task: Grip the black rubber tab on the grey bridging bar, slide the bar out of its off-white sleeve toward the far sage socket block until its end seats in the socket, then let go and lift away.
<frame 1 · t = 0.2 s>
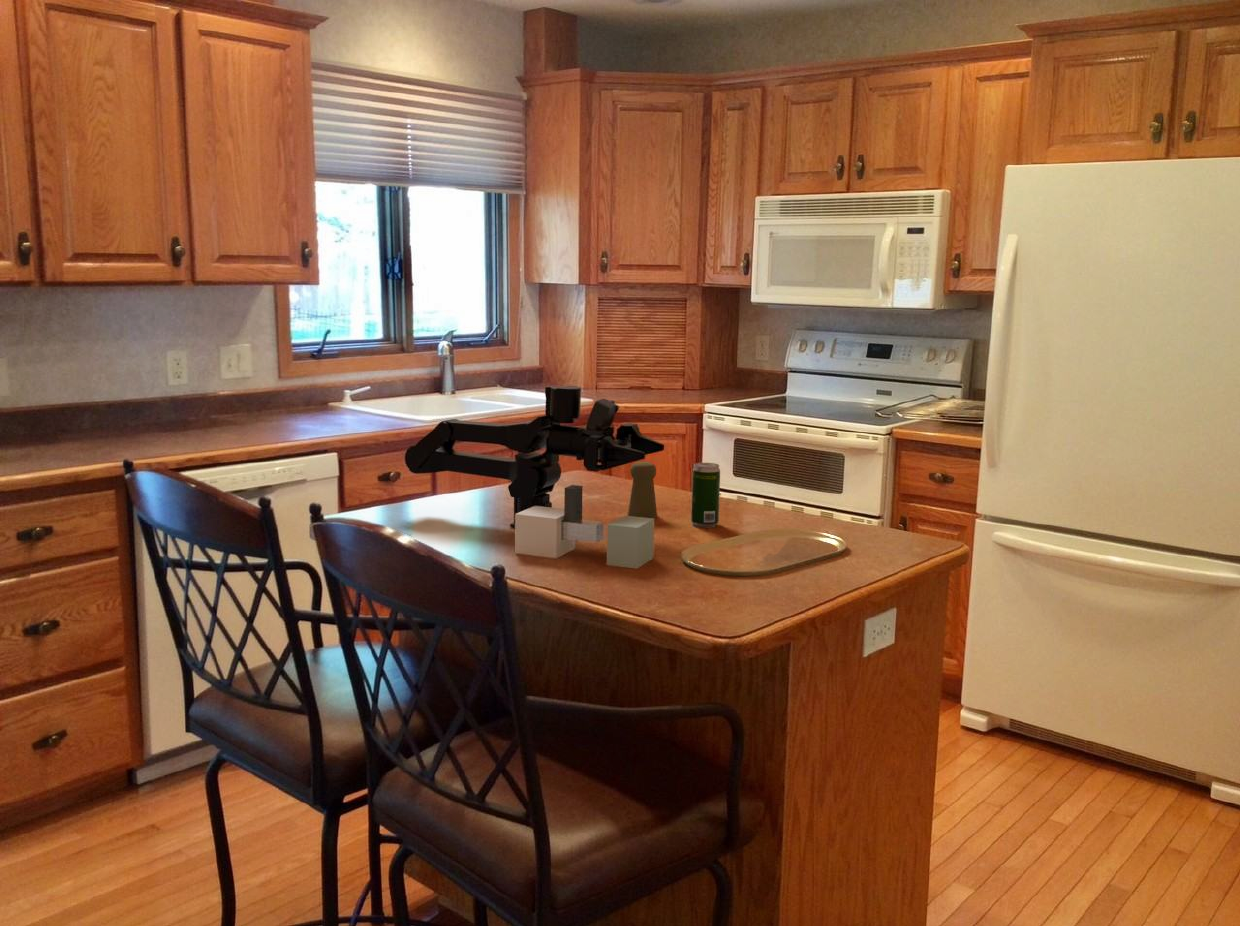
hand: (654, 451, 197), 17 cm above the table, tool horizontal, fingers open, 9 cm apart
sleeve: (545, 550, 191), on the table
beer can: (704, 525, 213), on the table
socket block: (630, 561, 185), on the table
grey bridging bar: (560, 510, 189), point 8 cm above the table, slide at 0.0 cm
serving platter: (765, 558, 191), on the table
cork: (642, 516, 220), on the table
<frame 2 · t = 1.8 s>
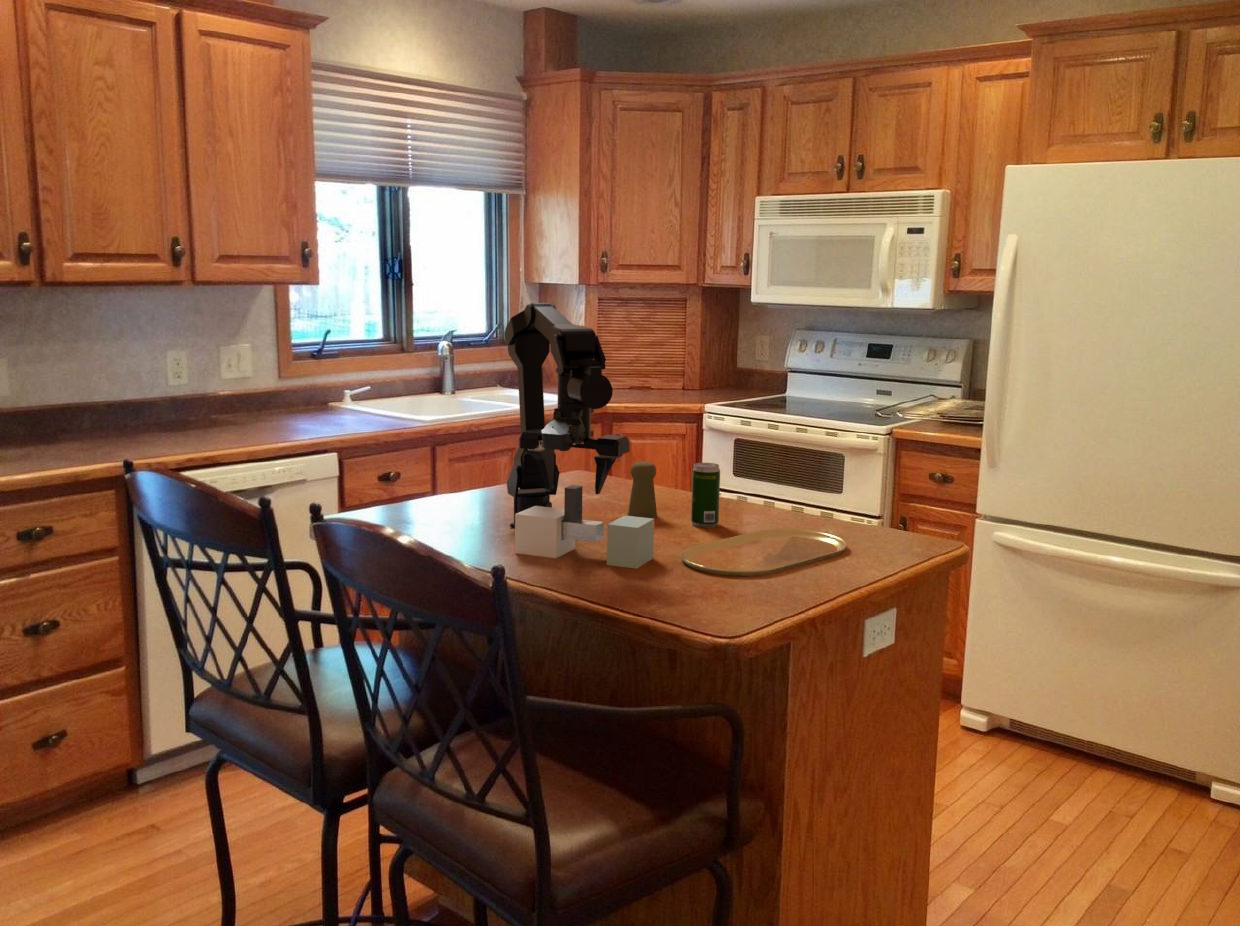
hand: (573, 491, 187), 11 cm above the table, tool pointing down, fingers open, 9 cm apart
nothing on the table moved.
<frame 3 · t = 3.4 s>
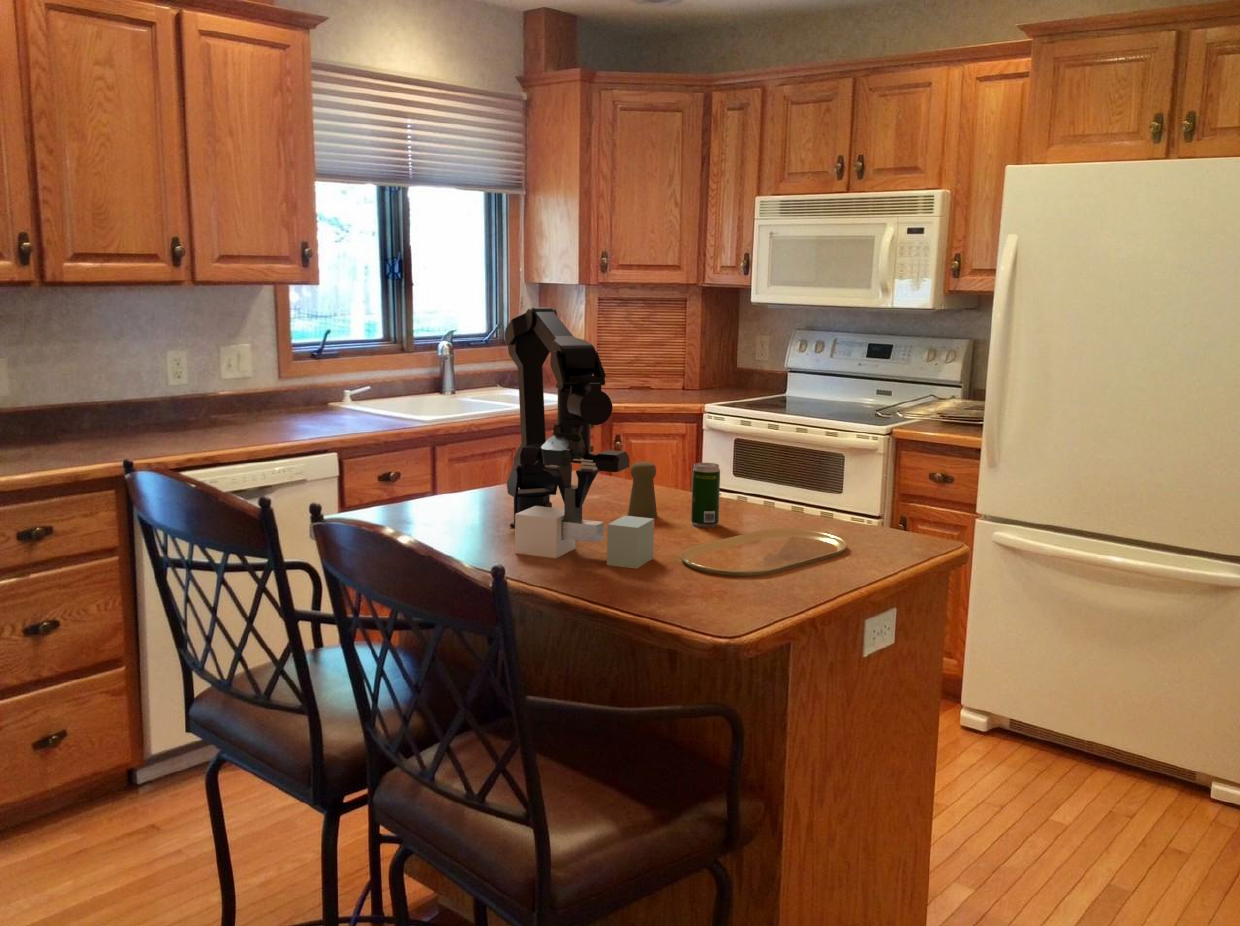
hand: (573, 506, 188), 9 cm above the table, tool pointing down, fingers closed on grey bridging bar, 2 cm apart
grey bridging bar: (560, 510, 189), point 8 cm above the table, slide at 0.0 cm, touching gripper
everything else where it was.
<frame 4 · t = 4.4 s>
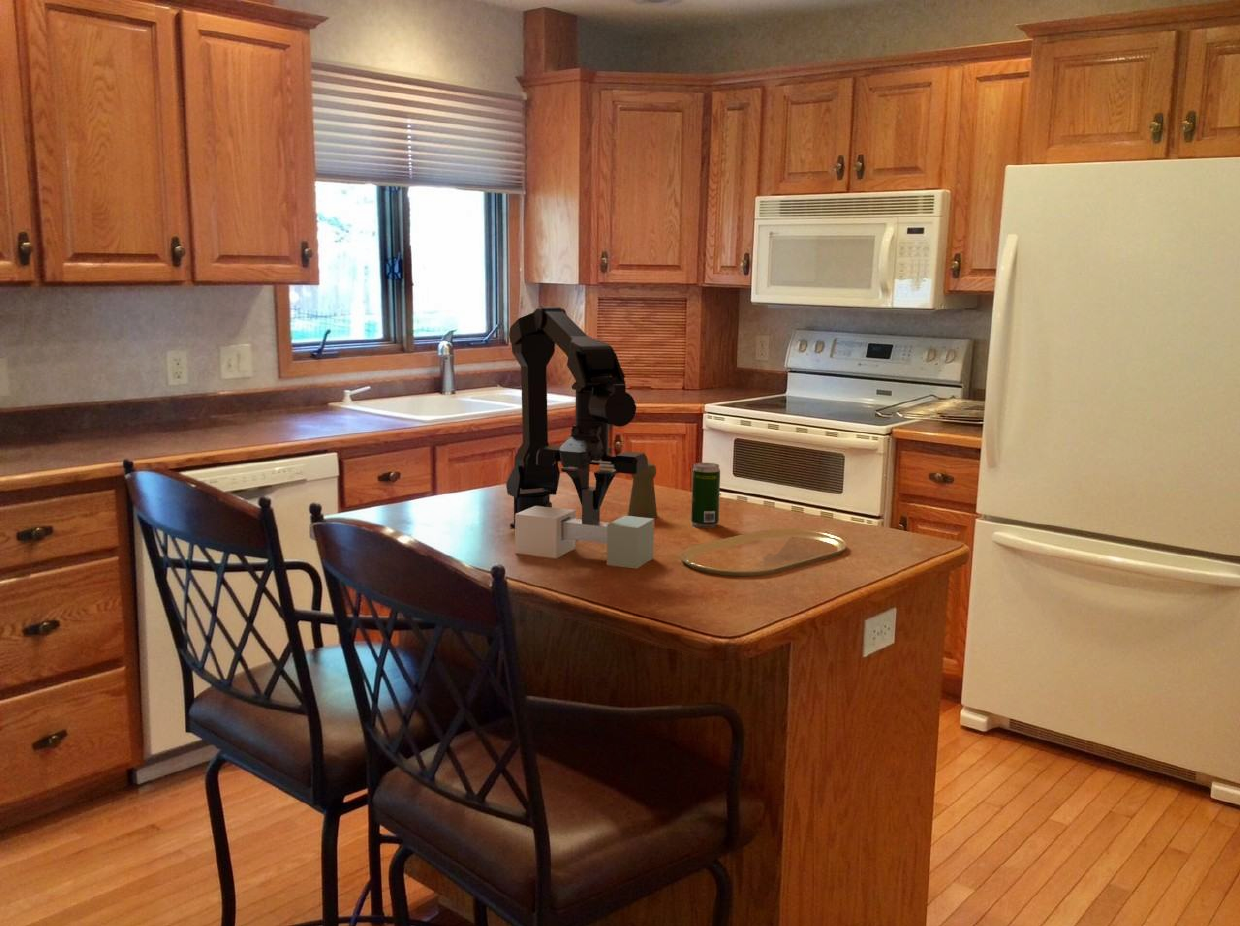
hand: (591, 508, 186), 9 cm above the table, tool pointing down, fingers closed on grey bridging bar, 2 cm apart
grey bridging bar: (578, 512, 187), point 8 cm above the table, slide at 3.4 cm, touching gripper
everything else where it was.
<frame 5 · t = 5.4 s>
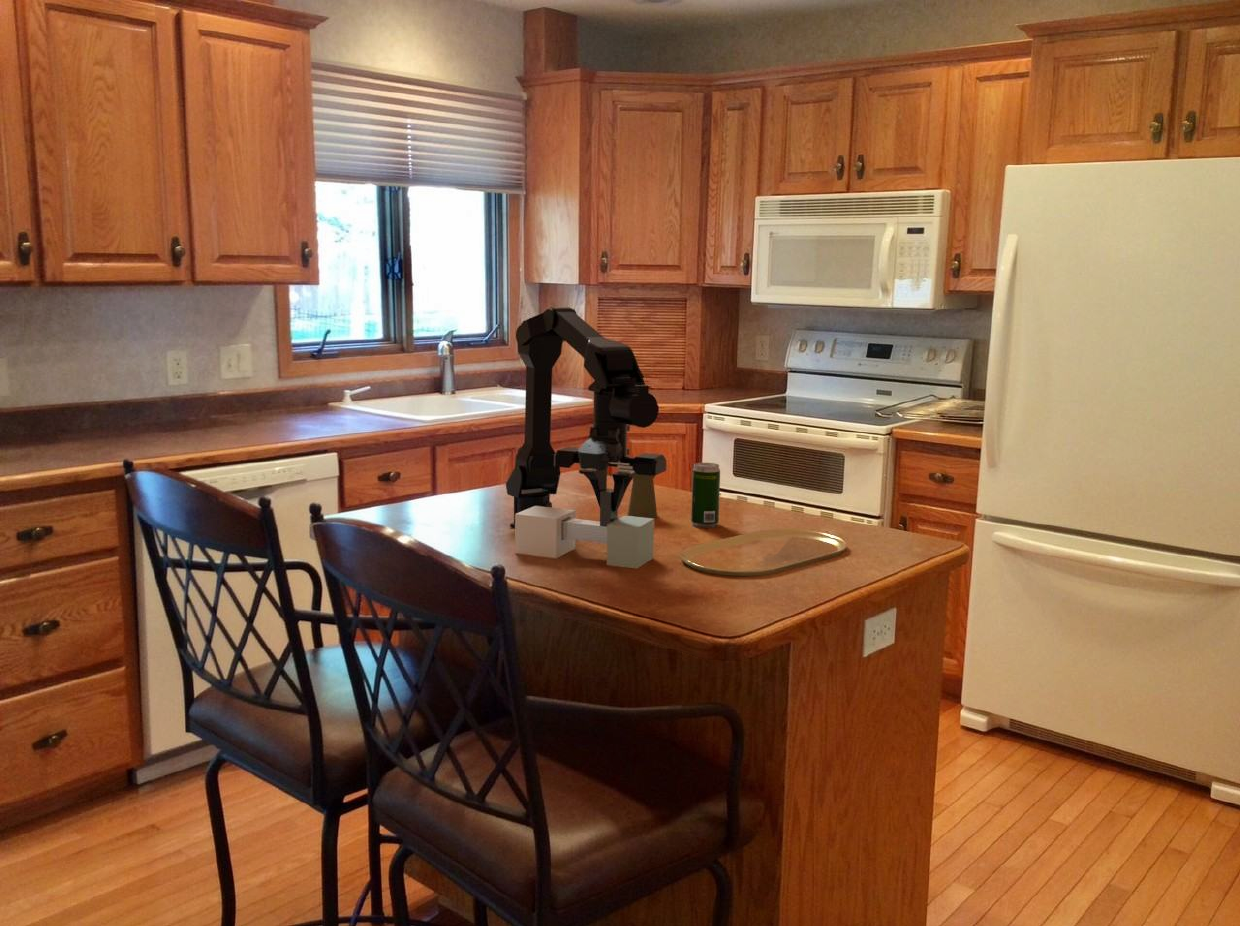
hand: (608, 510, 185), 9 cm above the table, tool pointing down, fingers closed on grey bridging bar, 2 cm apart
grey bridging bar: (596, 514, 186), point 8 cm above the table, slide at 6.7 cm, touching gripper
everything else where it was.
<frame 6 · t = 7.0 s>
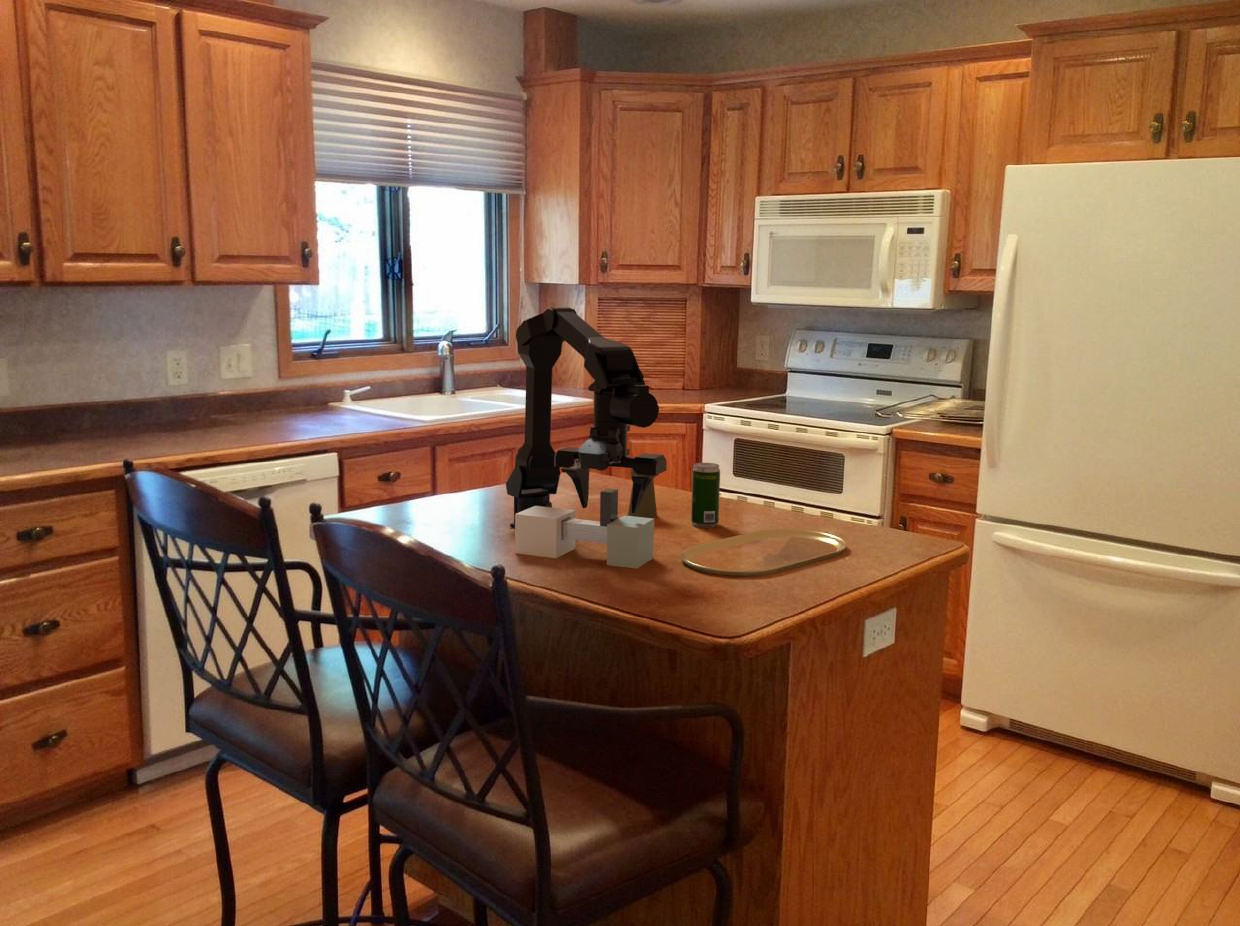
hand: (609, 510, 185), 9 cm above the table, tool pointing down, fingers open, 9 cm apart
grey bridging bar: (596, 514, 186), point 8 cm above the table, slide at 6.7 cm
everything else where it was.
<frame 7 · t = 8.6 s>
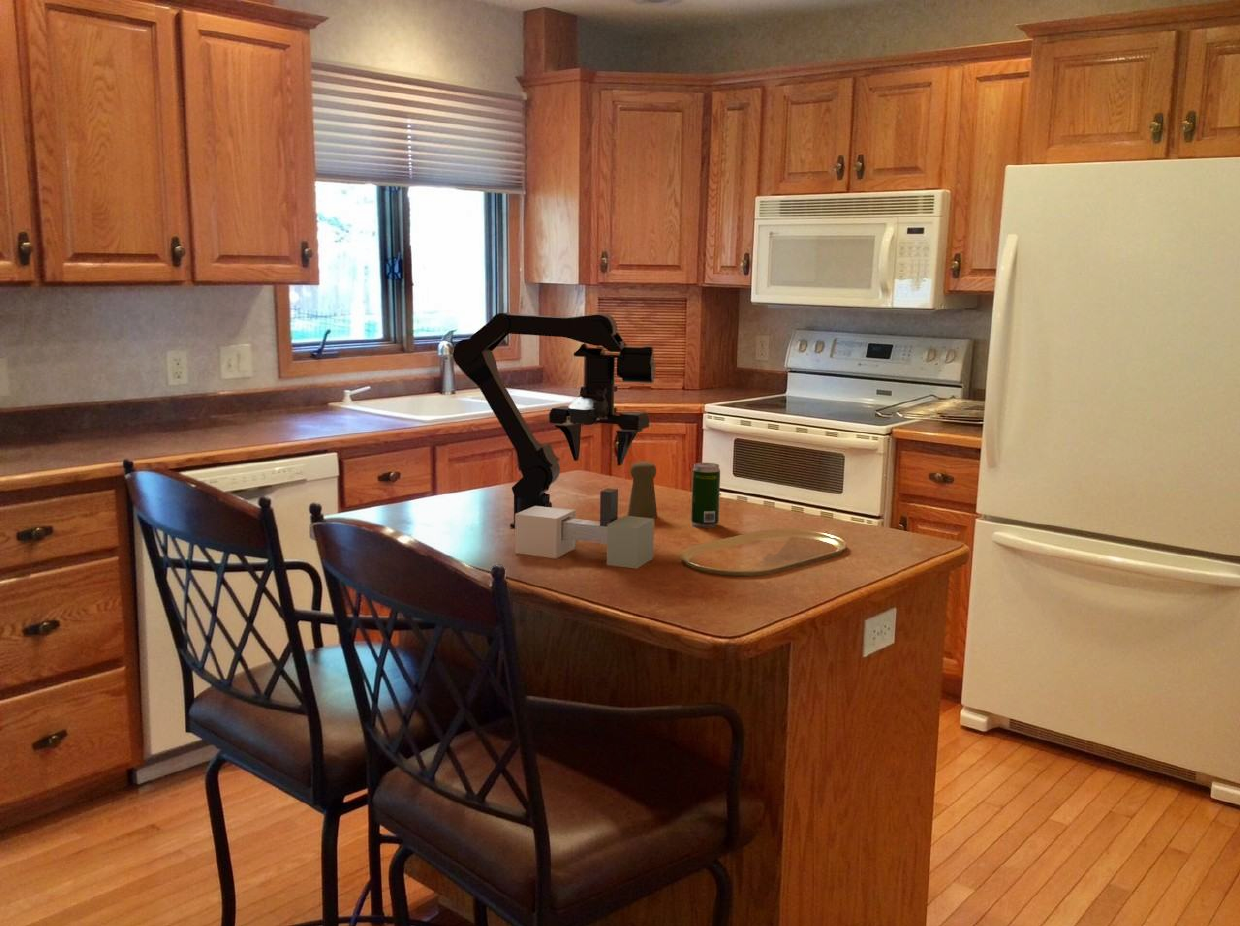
hand: (597, 462, 206), 13 cm above the table, tool pointing down, fingers open, 9 cm apart
nothing on the table moved.
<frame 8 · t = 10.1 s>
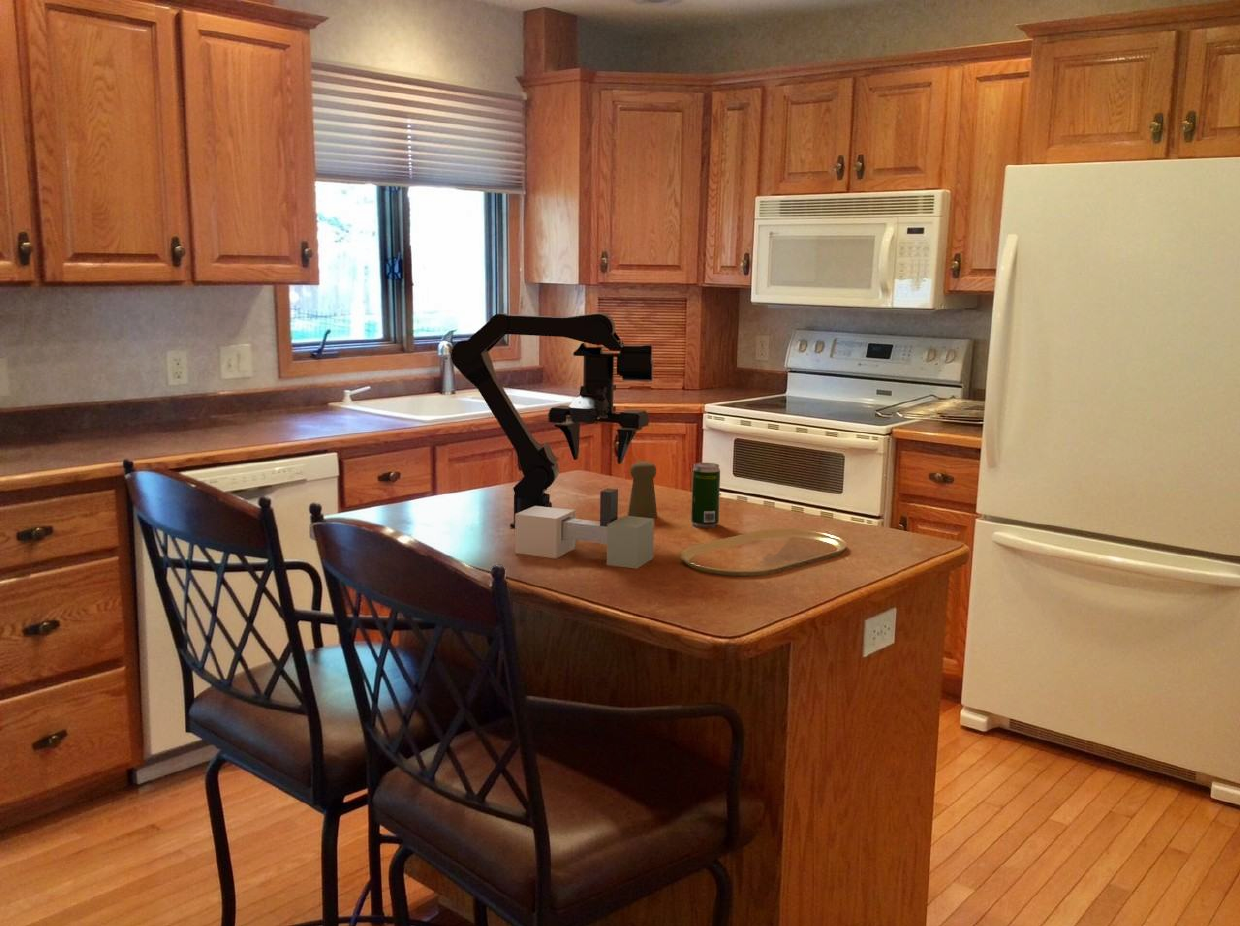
hand: (597, 461, 207), 13 cm above the table, tool pointing down, fingers open, 9 cm apart
nothing on the table moved.
at the end: grey bridging bar slide at 6.7 cm; the gripper is holding nothing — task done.
